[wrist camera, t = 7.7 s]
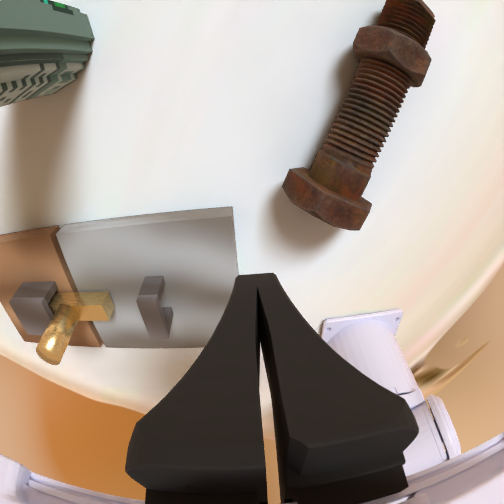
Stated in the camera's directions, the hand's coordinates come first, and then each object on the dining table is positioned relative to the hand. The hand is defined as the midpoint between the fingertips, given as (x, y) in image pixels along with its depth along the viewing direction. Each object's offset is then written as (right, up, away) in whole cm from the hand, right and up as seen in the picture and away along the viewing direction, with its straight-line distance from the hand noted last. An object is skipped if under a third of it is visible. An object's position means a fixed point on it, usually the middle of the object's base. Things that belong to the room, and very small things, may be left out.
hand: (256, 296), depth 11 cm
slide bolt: (-16, -2, +11) cm, 19 cm away
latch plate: (-13, -1, +12) cm, 18 cm away
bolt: (+7, +12, +6) cm, 15 cm away
